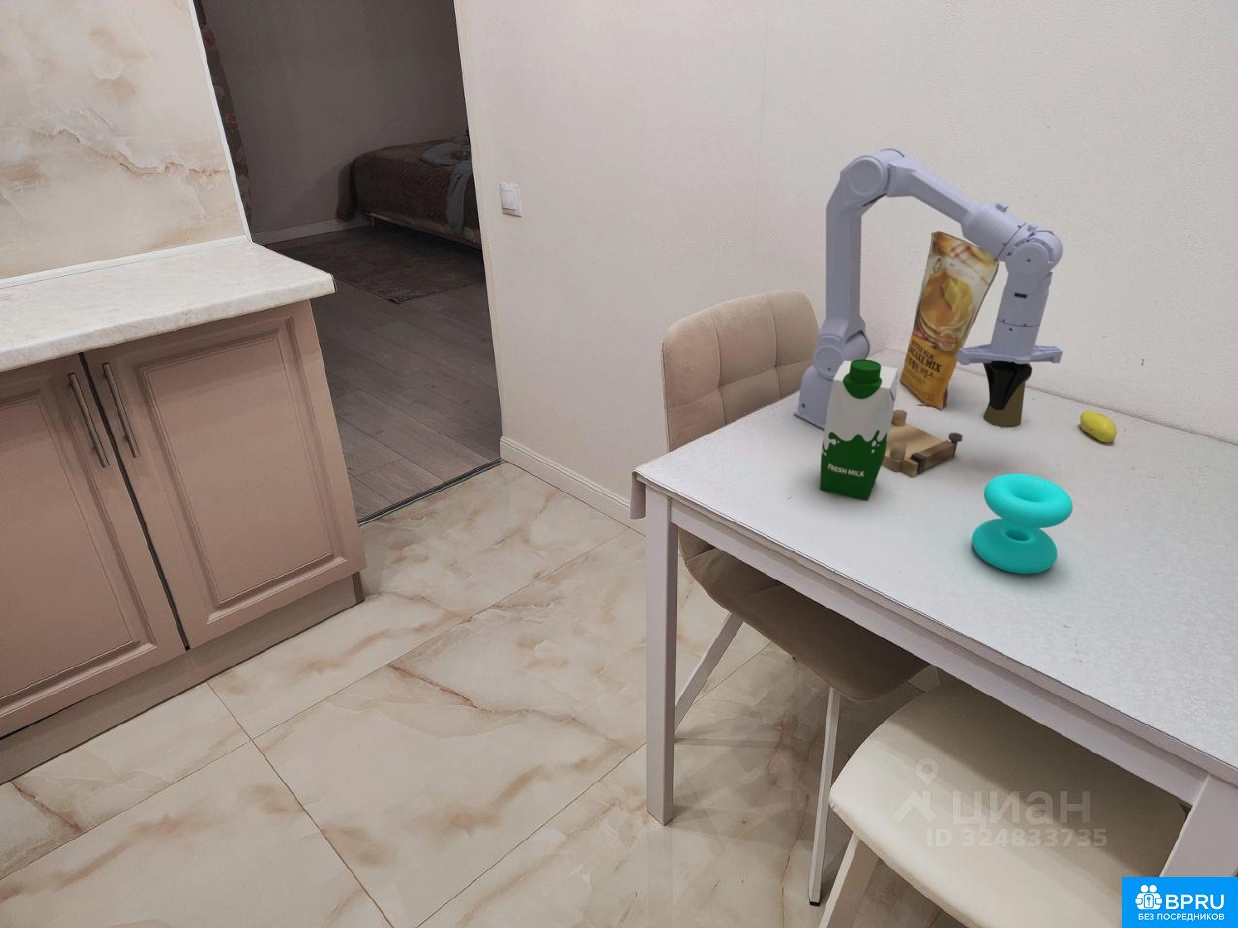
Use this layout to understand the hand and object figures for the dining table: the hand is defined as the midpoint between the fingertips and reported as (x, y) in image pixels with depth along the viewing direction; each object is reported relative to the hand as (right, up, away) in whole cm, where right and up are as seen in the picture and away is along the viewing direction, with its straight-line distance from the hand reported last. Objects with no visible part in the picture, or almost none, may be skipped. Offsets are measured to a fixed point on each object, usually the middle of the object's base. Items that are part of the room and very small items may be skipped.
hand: (996, 407), depth 119 cm
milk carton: (-22, -12, 0) cm, 25 cm away
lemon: (+23, -4, +14) cm, 27 cm away
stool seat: (-11, -7, +9) cm, 15 cm away
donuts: (-6, -21, -16) cm, 27 cm away
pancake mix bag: (+1, +5, +29) cm, 30 cm away
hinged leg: (-8, -8, +5) cm, 12 cm away
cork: (+10, -1, +19) cm, 21 cm away
